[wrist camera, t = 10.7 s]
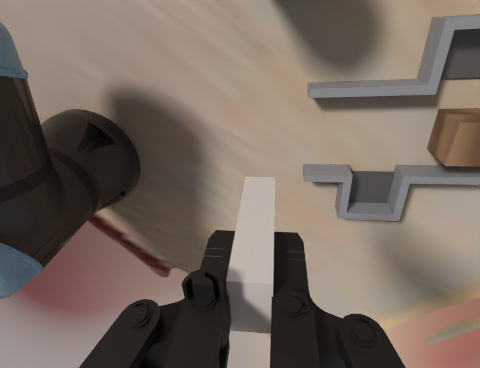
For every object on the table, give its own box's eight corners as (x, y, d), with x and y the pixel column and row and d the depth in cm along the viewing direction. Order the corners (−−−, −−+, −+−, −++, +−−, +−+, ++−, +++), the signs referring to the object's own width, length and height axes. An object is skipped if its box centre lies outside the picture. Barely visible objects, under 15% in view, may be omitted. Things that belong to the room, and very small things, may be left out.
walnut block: (426, 147, 36) (445, 166, 32) (438, 108, 33) (460, 123, 29) (470, 147, 35) (495, 166, 31) (486, 107, 33) (515, 122, 28)
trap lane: (301, 205, 43) (301, 217, 41) (311, 25, 31) (313, 27, 28) (468, 210, 40) (481, 224, 37) (557, 9, 27) (585, 9, 25)
